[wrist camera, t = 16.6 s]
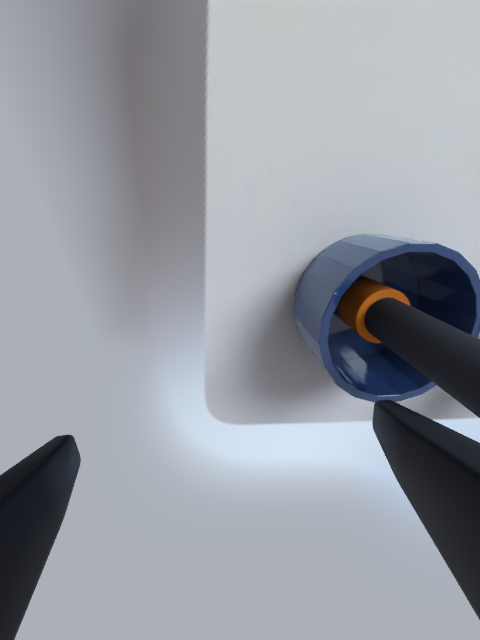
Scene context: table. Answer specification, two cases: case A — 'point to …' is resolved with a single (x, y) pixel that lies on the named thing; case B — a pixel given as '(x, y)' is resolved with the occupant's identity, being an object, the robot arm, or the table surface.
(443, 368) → the scrub stick
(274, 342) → the table surface
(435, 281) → the blue plastic pot
